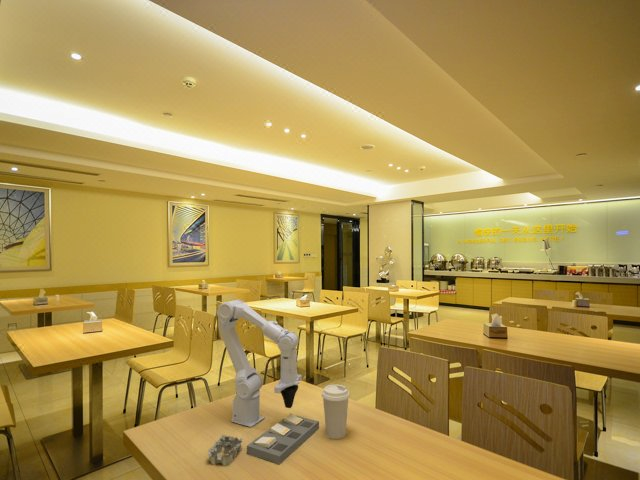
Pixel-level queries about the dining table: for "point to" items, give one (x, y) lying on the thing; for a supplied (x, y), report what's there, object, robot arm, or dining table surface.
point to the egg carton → (225, 450)
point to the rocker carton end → (265, 442)
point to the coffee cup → (335, 410)
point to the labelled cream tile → (293, 420)
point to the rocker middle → (279, 430)
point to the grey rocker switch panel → (284, 441)
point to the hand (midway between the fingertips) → (288, 407)
